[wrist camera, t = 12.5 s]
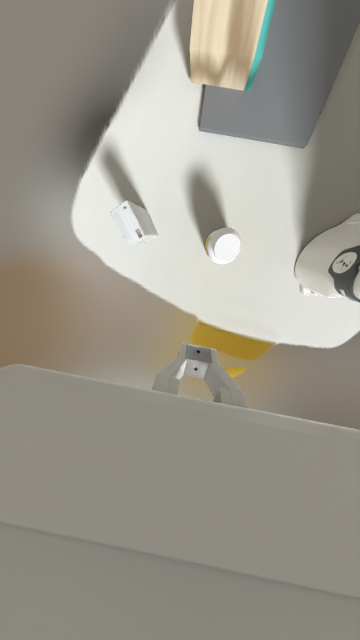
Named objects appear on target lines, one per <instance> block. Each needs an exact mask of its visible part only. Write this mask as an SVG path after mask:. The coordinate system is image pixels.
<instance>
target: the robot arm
mask: <svg viewBox="0 0 360 640" xmlns="http://www.w3.org/2000/svg"><path fill="white" fill-rule="evenodd" d="M295 275H296V278H297V280H298V282H299V283H300V285H301V293H302V294H304V295H322V296H325V297H327V298H333V297H335V298H339V297H346V298H348V299H350V300H353V301H357V302H360V213H357V214H354V215H352V216H351V217H349V218H348V219H347V220H345V221H344V222H343V223H341V224H340V225H338V226H336V227H333V228H331V229H329V230H327V231H325V232H323V233H321V234H320V235H318V236H317V237H315V238H314V239H313V240H312V241H311V242H310V243H309V244H308V245H307V246H306V247H305V248H304V249H303V251H302V252H301V254H300V256H299V257H298V260H297V262H296V266H295ZM183 375H189V376H194V377H199V378H203V379H204V380H205V382H206V384H207V385H208V387H209V389H210V391H211V393H212V395H213V396H214V399H213V401H208V400H202V399H197V398H192V397H187V396H182V395H178V388H179V380H180V378H181V377H182V376H183ZM0 640H360V430H357V429H352V428H346V427H341V426H336V425H331V424H326V423H321V422H315V421H311V420H305V419H300V418H295V417H290V416H285V415H280V414H275V413H269V412H264V411H259V410H254V409H249V408H248V407H247V403H246V400H245V397H244V394H243V391H242V389H241V388H240V387H239V386H238V385H237V383H236V382H235V381H234V380H233V379H232V378H231V376H230V375H229V374H228V373H227V372H226V371H225V370H224V368H223V367H222V366H221V365H219V361H218V355H217V350H216V349H211V348H205V347H200V346H194V345H189V344H185V343H180V347H179V352H178V357H176V358H175V359H173V360H172V361H171V362H170V363H169V364H168V365H166V366H165V367H164V368H163V369H162V370H161V371H159V372H158V373H157V374H156V377H155V381H154V384H153V388H152V390H151V389H146V388H141V387H135V386H130V385H125V384H120V383H115V382H110V381H104V380H99V379H95V378H89V377H84V376H79V375H74V374H69V373H64V372H58V371H53V370H48V369H43V368H38V367H33V366H28V365H23V364H13V365H9V366H6V367H2V368H0Z"/></svg>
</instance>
